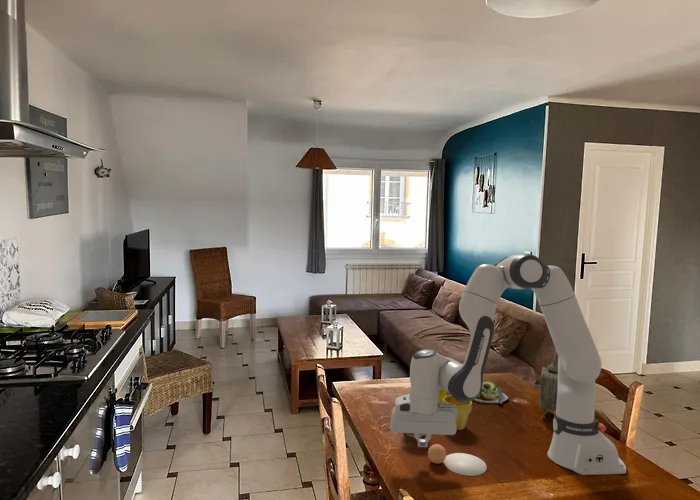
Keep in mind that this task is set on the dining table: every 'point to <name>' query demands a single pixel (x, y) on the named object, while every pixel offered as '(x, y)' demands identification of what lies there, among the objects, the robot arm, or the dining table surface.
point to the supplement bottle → (441, 395)
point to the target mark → (465, 464)
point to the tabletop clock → (549, 388)
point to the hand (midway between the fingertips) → (422, 446)
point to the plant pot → (459, 410)
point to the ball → (437, 453)
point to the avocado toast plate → (491, 394)
